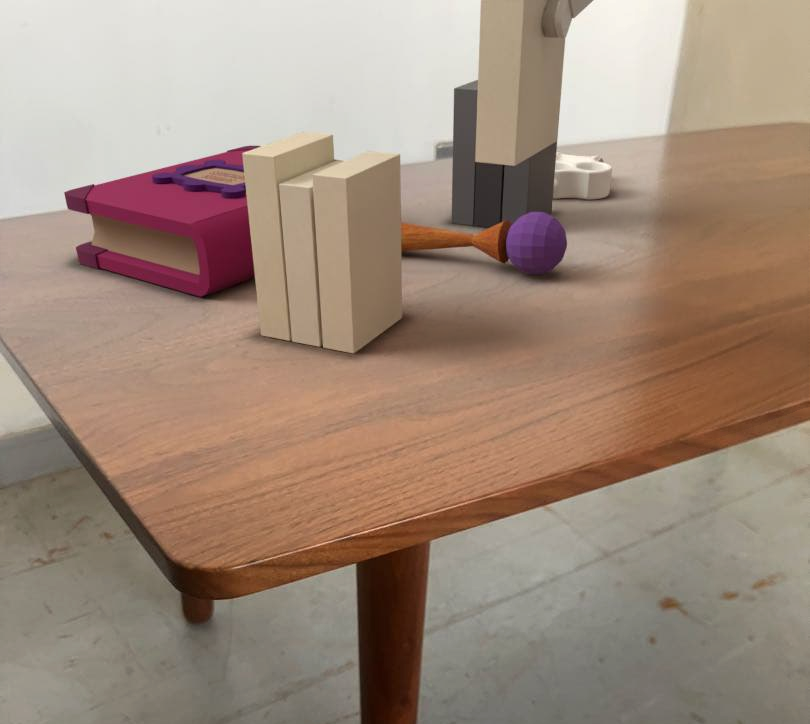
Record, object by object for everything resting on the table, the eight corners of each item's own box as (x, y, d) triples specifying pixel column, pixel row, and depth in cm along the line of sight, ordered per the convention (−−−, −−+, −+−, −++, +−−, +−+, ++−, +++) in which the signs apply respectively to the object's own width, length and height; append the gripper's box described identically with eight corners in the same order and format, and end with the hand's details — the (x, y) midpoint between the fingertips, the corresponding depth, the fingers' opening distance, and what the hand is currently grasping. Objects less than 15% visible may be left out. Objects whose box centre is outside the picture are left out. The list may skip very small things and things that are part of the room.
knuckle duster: (625, 180, 124) (596, 207, 113) (499, 168, 130) (461, 192, 119) (628, 153, 122) (599, 178, 111) (500, 143, 128) (461, 165, 117)
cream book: (557, 141, 70) (575, -80, 62) (514, 166, 63) (528, -78, 55) (520, 138, 71) (533, -80, 63) (474, 162, 65) (483, -78, 57)
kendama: (398, 205, 100) (576, 211, 91) (398, 262, 102) (572, 273, 94) (371, 208, 95) (557, 214, 86) (372, 267, 97) (553, 279, 89)
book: (389, 231, 105) (388, 161, 101) (211, 301, 87) (200, 220, 83) (256, 203, 116) (250, 139, 111) (72, 261, 97) (56, 187, 93)
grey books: (551, 212, 111) (562, 75, 103) (525, 232, 105) (535, 87, 96) (480, 204, 115) (485, 70, 106) (451, 222, 108) (453, 82, 99)
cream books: (402, 317, 83) (400, 140, 75) (353, 353, 76) (345, 164, 68) (314, 302, 87) (302, 131, 78) (260, 335, 80) (241, 152, 71)
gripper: (432, -180, 65) (371, -10, 63) (728, -195, 57) (667, -2, 56) (456, -103, 71) (400, 55, 69) (728, -107, 63) (672, 70, 62)
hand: (522, 30), depth 62 cm, fingers closed on cream book, 3 cm apart
